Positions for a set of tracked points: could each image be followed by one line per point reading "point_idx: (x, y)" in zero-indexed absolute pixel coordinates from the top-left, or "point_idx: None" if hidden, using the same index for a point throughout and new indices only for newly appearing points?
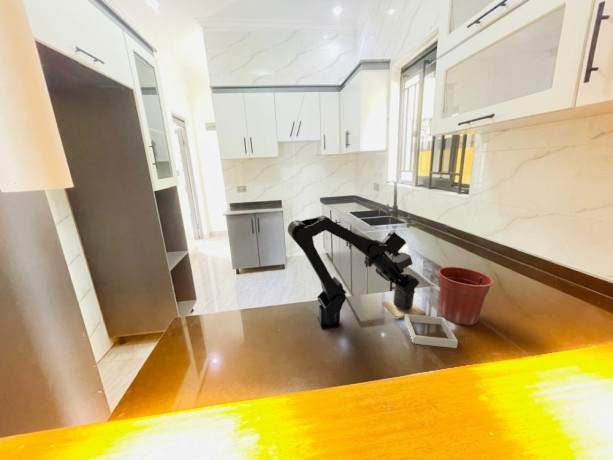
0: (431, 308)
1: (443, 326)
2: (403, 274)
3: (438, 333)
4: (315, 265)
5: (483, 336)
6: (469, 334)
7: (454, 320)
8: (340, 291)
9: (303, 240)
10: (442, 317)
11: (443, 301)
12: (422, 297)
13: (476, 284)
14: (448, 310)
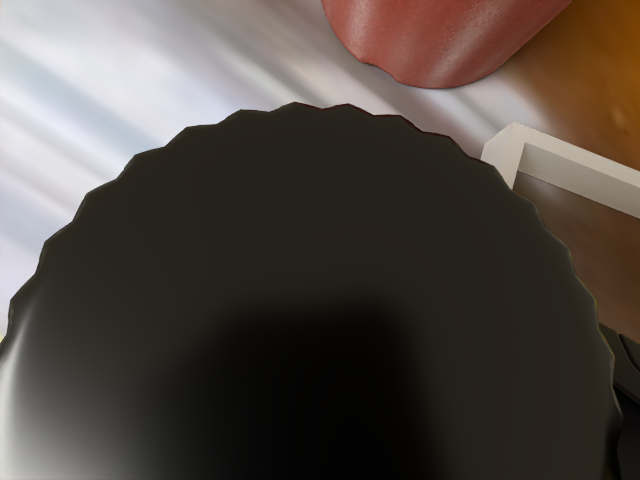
0: (312, 86)
1: (551, 171)
2: (104, 409)
3: (572, 234)
4: None
5: (608, 22)
6: (590, 74)
7: (503, 61)
8: None
9: None
10: (513, 125)
11: (486, 2)
12: (152, 43)
13: None
14: (506, 40)
